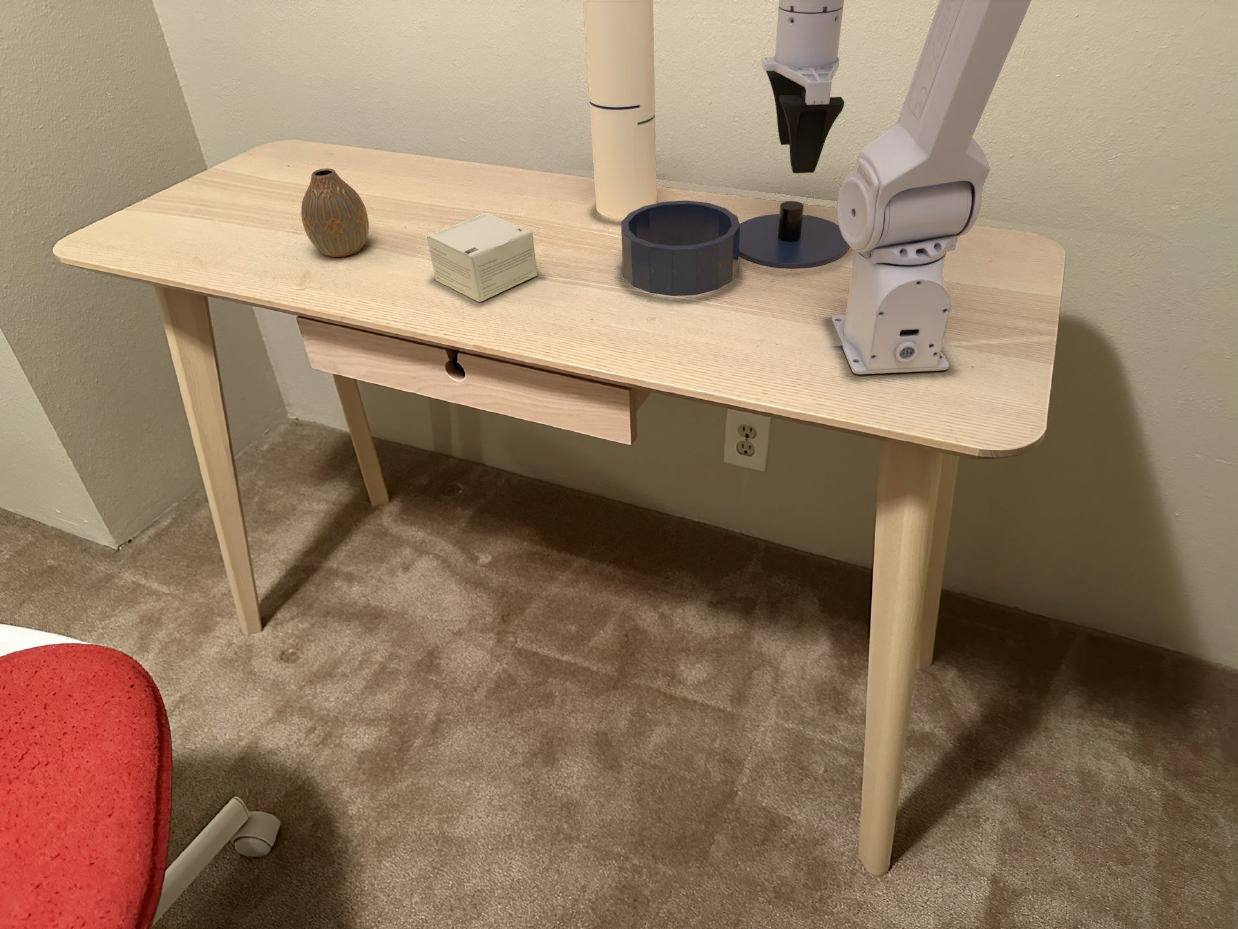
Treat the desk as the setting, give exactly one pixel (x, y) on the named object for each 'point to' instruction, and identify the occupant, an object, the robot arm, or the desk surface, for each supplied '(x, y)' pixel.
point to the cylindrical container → (621, 103)
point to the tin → (680, 247)
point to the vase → (334, 215)
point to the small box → (482, 256)
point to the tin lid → (791, 239)
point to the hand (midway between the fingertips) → (796, 157)
